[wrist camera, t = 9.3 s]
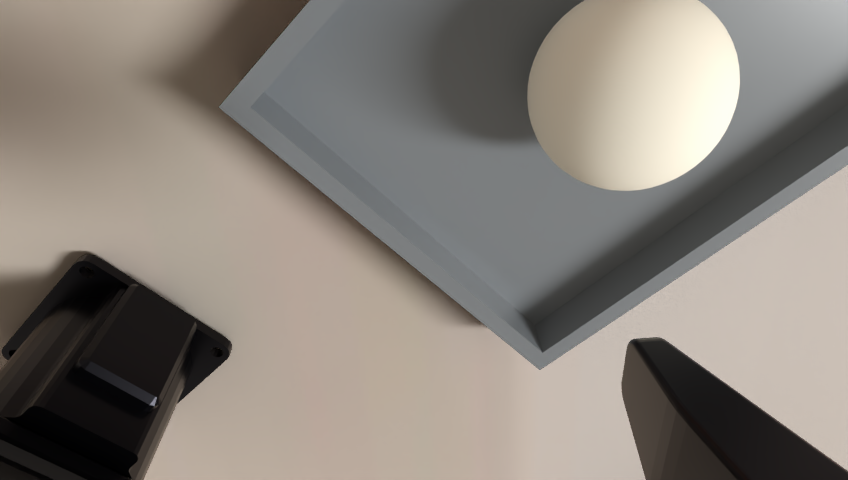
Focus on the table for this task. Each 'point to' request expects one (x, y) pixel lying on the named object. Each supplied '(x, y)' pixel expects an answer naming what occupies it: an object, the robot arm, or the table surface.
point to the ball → (633, 90)
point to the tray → (534, 152)
